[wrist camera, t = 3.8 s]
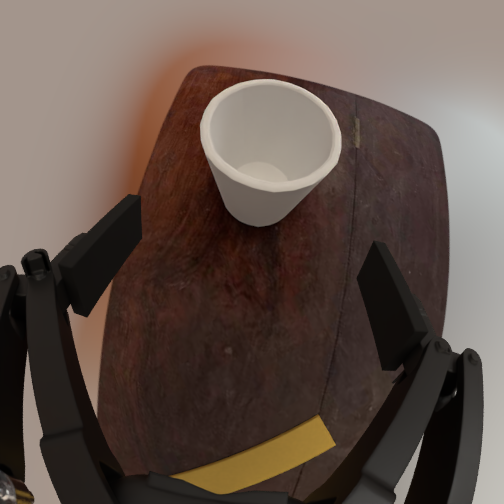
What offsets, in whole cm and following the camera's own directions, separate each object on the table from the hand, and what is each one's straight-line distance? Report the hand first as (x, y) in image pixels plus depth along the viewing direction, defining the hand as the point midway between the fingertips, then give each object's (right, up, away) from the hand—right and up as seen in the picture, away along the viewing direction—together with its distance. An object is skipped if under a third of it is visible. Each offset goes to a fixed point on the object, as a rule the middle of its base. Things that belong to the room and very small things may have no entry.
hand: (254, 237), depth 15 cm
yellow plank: (-1, -26, +9) cm, 27 cm away
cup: (+1, +5, +15) cm, 16 cm away
